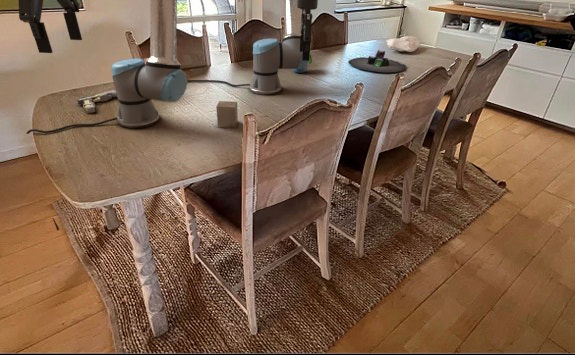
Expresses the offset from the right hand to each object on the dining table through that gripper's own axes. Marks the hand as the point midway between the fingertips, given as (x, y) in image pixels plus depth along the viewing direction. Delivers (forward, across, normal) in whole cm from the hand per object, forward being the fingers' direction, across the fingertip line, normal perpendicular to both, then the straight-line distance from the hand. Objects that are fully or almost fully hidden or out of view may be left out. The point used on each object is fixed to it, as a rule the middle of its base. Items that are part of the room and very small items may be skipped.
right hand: (304, 55), depth 145 cm
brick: (+23, -15, +30) cm, 41 cm away
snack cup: (+23, +57, -4) cm, 62 cm away
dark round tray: (+24, +74, -52) cm, 94 cm away
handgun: (+23, +4, +86) cm, 89 cm away
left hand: (-14, -52, +65) cm, 85 cm away
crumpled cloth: (+24, +115, -80) cm, 142 cm away
